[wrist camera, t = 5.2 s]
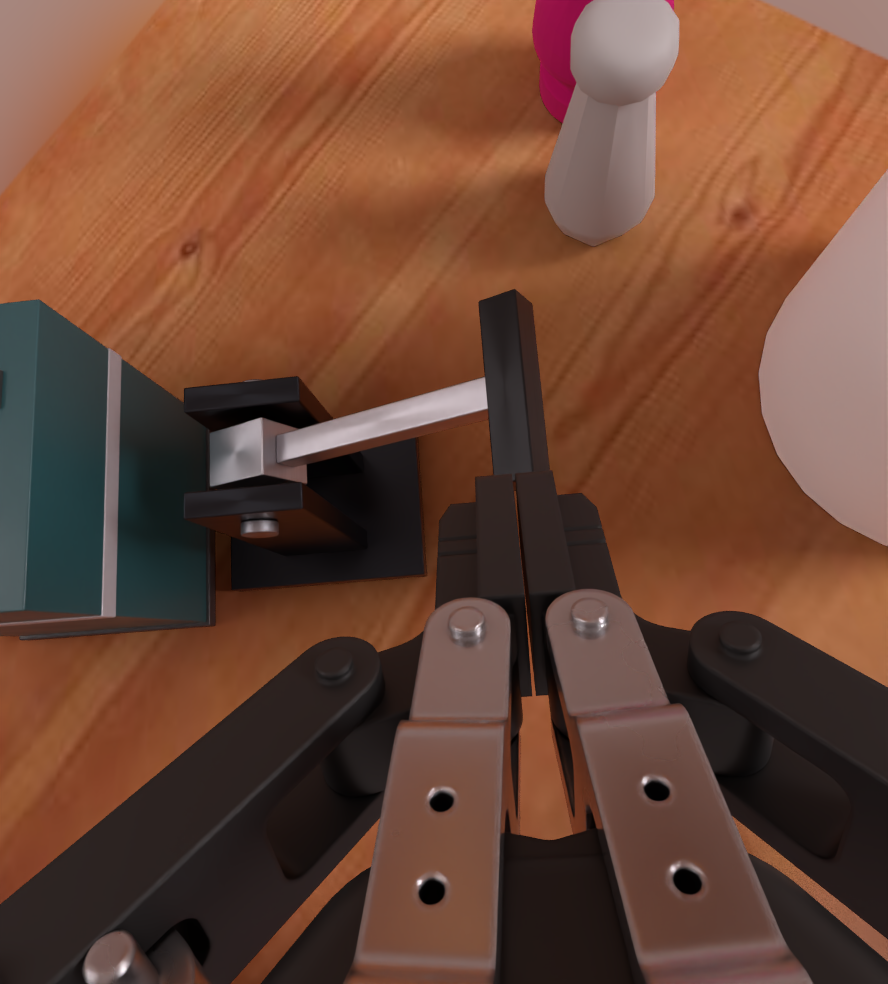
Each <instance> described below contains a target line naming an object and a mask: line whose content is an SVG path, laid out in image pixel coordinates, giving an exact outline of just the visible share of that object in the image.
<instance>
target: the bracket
mask: <svg viewBox="0 0 888 984" xmlns="http://www.w3.org/2000/svg"><path fill="white" fill-rule="evenodd" d="M184 412H185V413H186V414H187V415H188V416H190V417H191V418H193V419H194V420H196V421H197V422H199V423H200V424H202V425H203V426H204V427H206V428H207V429H209V430H210V431H212V432H214V431H217V430H221V429H224V428H227V427H230V426H234V425H237V424H240V423H244V422H247V421H250V420H254V419H257V418H260V417H263V418H266V419H269V420H272V421H276V422H279V423H282V424H285V425H289V426H292V427H295V428H298V429H301V428H304V427H308V426H311V425H315V424H318V423H322V422H325V421H329V420H332V419H333V418H332V417H331V416H330V414H329V413H328V412H327V411H326V410H325V408H324V407H323V406H322V405H321V403H320V402H319V401H318V400H317V399H316V397H315V396H314V395H313V394H312V393H311V391H310V390H309V389H308V388H307V386H306V385H305V384H304V383H303V382H302V380H301V379H300V378H299V377H297V376H296V377H286V378H277V379H267V380H259V379H253V380H246V381H243V382H238V383H229V384H219V385H210V386H200V387H191V388H185V389H184ZM184 519H185V520H188V521H191V522H193V523H196V524H199V525H201V526H204V527H207V528H210V529H212V530H215V531H218V532H220V533H223V534H226V535H229V536H231V582H232V590H235V591H252V590H264V589H277V588H289V587H302V586H314V585H326V584H339V583H351V582H363V581H376V580H388V579H400V578H413V577H425V576H427V565H426V550H425V535H424V520H423V505H422V490H421V475H420V460H419V445H418V437H415V438H411V439H407V440H403V441H399V442H395V443H391V444H387V445H383V446H379V447H375V448H371V449H367V450H363V451H359V452H355V453H351V454H347V455H342V456H338V457H334V458H330V459H326V460H322V461H318V462H314V463H310V464H307V484H306V485H305V484H303V483H302V482H294V483H283V484H272V485H261V486H251V487H240V488H229V489H218V490H208V491H197V492H186V493H184Z"/></svg>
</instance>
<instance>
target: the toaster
mask: <svg viewBox="0 0 888 984" xmlns="http://www.w3.org/2000/svg"><path fill="white" fill-rule="evenodd" d="M211 432H212V431H210V430H209V429H207V428H206V427H204V426H203V425H202V424H200V423H199V422H197V421H196V420H194V419H193V418H191V417H190V416H188V415H187V414H186V413H185V412H184V403H183V402H181V401H180V400H179V399H177V398H176V397H174V396H173V395H172V394H170V393H169V392H168V391H166V390H165V389H163V388H162V387H161V386H159V385H158V384H156V383H155V382H154V381H152V380H151V379H149V378H148V377H147V376H145V375H144V374H142V373H141V372H140V371H138V370H137V369H135V368H134V367H133V366H131V365H130V364H128V363H127V362H126V361H124V360H123V359H121V356H120V355H119V354H117V353H116V352H114V351H113V350H112V349H110V348H106V347H105V346H103V345H102V344H101V343H99V342H98V341H96V340H95V339H94V338H92V337H91V336H89V335H88V334H87V333H85V332H84V331H82V330H81V329H80V328H78V327H77V326H75V325H74V324H73V323H71V322H70V321H68V320H67V319H66V318H64V317H63V316H61V315H60V314H59V313H57V312H56V311H54V310H53V309H52V308H50V307H49V306H48V305H46V304H45V303H43V302H42V301H41V300H30V301H21V302H12V303H4V304H0V636H20V638H19V639H20V640H40V639H53V638H66V637H79V636H92V635H105V634H118V633H131V632H144V631H157V630H169V629H182V628H195V627H208V626H215V530H212V529H210V528H207V527H204V526H201V525H199V524H196V523H193V522H191V521H188V520H185V519H184V493H186V492H197V491H208V490H215V489H214V488H210V433H211Z"/></svg>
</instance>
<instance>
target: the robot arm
mask: <svg viewBox="0 0 888 984" xmlns="http://www.w3.org/2000/svg"><path fill="white" fill-rule="evenodd" d="M515 483H516V496H517V510H518V523H519V537H520V546H519V537H518V527H517V518H516V509H515V499H514V490H513V481H512V474H503V475H492V476H480V477H475V491H476V502H472V503H460V504H450V506H449V507H448V509H447V510H446V512H445V513H444V515H443V516H442V517H441V519H440V520H439V536H438V539H439V542H438V558H437V579H436V601H435V611H434V612H432V614H431V615H430V616H429V618H428V619H427V621H426V624H425V628H424V631H423V632H422V633H421V634H419V635H418V636H417V637H415V638H414V639H412V640H410V641H408V642H406V643H404V644H402V645H399V646H396V647H393V648H390V649H387V650H384V651H381V652H378V653H377V651H376V649H375V648H374V647H373V646H372V645H371V644H370V643H368V642H367V641H364V640H362V639H359V638H355V637H336V638H331V639H327V640H324V641H322V642H320V643H317V644H316V645H314V646H312V647H311V648H309V649H308V650H306V651H305V652H304V653H303V654H302V655H300V656H299V657H298V658H297V659H296V660H294V661H293V662H292V663H291V664H290V665H288V666H287V667H286V668H285V669H283V670H282V671H281V672H280V673H279V674H277V675H276V676H275V677H274V678H273V679H271V680H270V681H269V682H268V683H267V684H265V685H264V686H263V687H262V688H261V689H259V690H258V691H257V692H256V693H255V694H253V695H252V696H251V697H250V698H249V699H247V700H246V701H245V702H244V703H243V704H241V705H240V706H239V707H238V708H236V709H235V710H234V711H233V712H232V713H230V714H229V715H228V716H227V717H226V718H224V719H223V720H222V721H221V722H220V723H218V724H217V725H216V726H215V727H214V728H212V729H211V730H210V731H209V732H208V733H206V734H205V735H204V736H203V737H202V738H200V739H199V740H198V741H197V742H196V743H194V744H193V745H192V746H191V747H189V748H188V749H187V750H186V751H185V752H183V753H182V754H181V755H180V756H179V757H177V758H176V759H175V760H174V761H173V762H171V763H170V764H169V765H168V766H167V767H165V768H164V769H163V770H162V771H161V772H159V773H158V774H157V775H156V776H155V777H153V778H152V779H151V780H150V781H148V782H147V783H146V784H145V785H144V786H142V787H141V788H140V789H139V790H138V791H136V792H135V793H134V794H133V795H132V796H130V797H129V798H128V799H127V800H126V801H124V802H123V803H122V804H121V805H120V806H118V807H117V808H116V809H115V810H114V811H112V812H111V813H110V814H109V815H108V816H106V817H105V818H104V819H103V820H101V821H100V822H99V823H98V824H97V825H95V826H94V827H93V828H92V829H91V830H89V831H88V832H87V833H86V834H85V835H83V836H82V837H81V838H80V839H79V840H77V841H76V842H75V843H74V844H73V845H71V846H70V847H69V848H68V849H67V850H65V851H64V852H63V853H62V854H61V855H59V856H58V857H57V858H56V859H54V860H53V861H52V862H51V863H50V864H48V865H47V866H46V867H45V868H44V869H42V870H41V871H40V872H39V873H38V874H36V875H35V876H34V877H33V878H32V879H30V880H29V881H28V882H27V883H26V884H24V885H23V886H22V887H21V888H20V889H18V890H17V891H16V892H15V893H14V894H12V895H11V896H10V897H9V898H7V899H6V900H5V901H4V902H3V903H1V904H0V984H230V983H231V982H232V981H233V980H234V979H235V978H236V977H237V976H238V974H239V973H240V972H241V971H242V970H243V969H244V968H245V967H246V966H247V964H248V963H249V962H250V961H251V960H252V959H253V958H254V957H255V956H256V954H257V953H258V952H259V951H260V950H261V949H262V948H263V947H264V946H265V945H266V943H267V942H268V941H269V940H270V939H271V938H272V937H273V936H274V935H275V933H276V932H277V931H278V930H279V929H280V928H281V927H282V926H283V925H284V923H285V922H286V921H287V920H288V919H289V918H290V917H291V916H292V915H293V913H294V912H295V911H296V910H297V909H298V908H299V907H300V906H301V905H302V903H303V902H304V901H305V900H306V899H307V898H308V897H309V896H310V895H311V893H312V892H313V891H314V890H315V889H316V888H317V887H318V886H319V885H320V883H321V882H322V881H323V880H324V879H325V878H326V877H327V876H328V875H329V874H330V872H331V871H332V870H333V869H334V868H335V867H336V866H337V865H338V864H339V862H340V861H341V860H342V859H343V858H344V857H345V856H346V855H347V854H348V852H349V851H350V850H351V849H352V848H353V847H354V846H355V845H356V844H357V842H358V841H359V840H360V839H361V838H362V837H363V836H364V835H365V834H366V832H367V831H368V830H369V829H370V828H371V827H372V826H373V825H374V824H375V822H376V821H377V820H378V819H379V818H380V821H379V827H378V832H377V838H376V843H375V849H374V854H373V860H372V865H371V867H370V868H368V869H366V870H365V871H363V872H361V873H360V874H359V875H358V876H356V877H355V878H354V879H352V880H351V881H350V882H348V883H347V884H346V885H345V886H344V887H343V888H342V889H341V890H340V891H339V892H338V893H336V894H335V895H334V896H333V897H332V898H331V899H330V901H329V902H328V903H327V904H326V905H325V906H324V907H323V909H322V910H321V911H320V912H319V913H318V915H317V916H316V917H315V918H314V920H313V921H312V922H311V923H310V924H309V926H308V927H307V928H306V929H305V931H304V932H303V933H302V934H301V935H300V937H299V938H298V939H297V940H296V941H295V943H294V944H293V945H292V946H291V948H290V949H289V950H288V951H287V952H286V954H285V955H284V956H283V957H282V958H281V960H280V961H279V962H278V963H277V965H276V966H275V967H274V968H273V969H272V971H271V972H270V973H269V974H268V975H267V977H266V978H265V979H264V980H263V981H262V983H261V984H888V961H886V960H885V959H884V958H883V957H882V956H881V955H879V954H878V953H877V952H876V951H875V950H874V949H872V948H871V947H870V946H869V945H868V944H867V943H865V942H864V941H863V940H862V939H861V938H859V937H858V936H857V935H856V934H855V933H854V932H852V931H851V930H850V929H849V928H848V927H847V926H845V925H844V924H843V923H842V922H841V921H840V920H838V919H837V918H836V917H835V916H834V915H833V914H831V913H830V912H829V911H828V910H827V909H826V908H824V907H823V906H822V905H821V904H820V903H819V902H817V901H816V900H815V899H814V898H813V897H812V896H810V895H809V894H808V893H807V892H806V891H805V890H803V889H802V888H801V887H800V886H799V885H797V884H796V883H795V882H794V881H792V880H791V879H790V878H789V877H787V876H786V875H784V874H783V873H781V872H780V871H778V870H777V869H776V868H774V867H773V866H771V865H769V864H768V863H766V862H764V861H762V860H760V859H759V858H757V857H755V856H753V855H751V854H749V853H747V851H746V849H745V846H744V844H743V841H742V839H741V837H740V834H739V832H738V830H737V827H736V825H735V822H734V820H733V818H732V816H733V817H734V818H736V819H737V820H738V821H739V822H741V823H742V824H743V825H745V826H746V827H747V828H748V829H750V830H751V831H752V832H753V833H755V834H756V835H757V836H758V837H760V838H761V839H762V840H763V841H765V842H766V843H767V844H768V845H770V846H771V847H772V848H774V849H775V850H776V851H777V852H779V853H780V854H781V855H782V856H784V857H785V858H786V859H787V860H789V861H790V862H791V863H792V864H794V865H795V866H796V867H797V868H799V869H800V870H801V871H802V872H804V873H805V874H806V875H808V876H809V877H810V878H811V879H813V880H814V881H815V882H816V883H818V884H819V885H820V886H821V887H823V888H824V889H825V890H826V891H828V892H829V893H830V894H831V895H833V896H834V897H835V898H837V899H838V900H839V901H840V902H842V903H843V904H844V905H845V906H847V907H848V908H849V909H850V910H852V911H853V912H854V913H855V914H857V915H858V916H859V917H860V918H862V919H863V920H864V921H865V922H867V923H868V924H869V925H871V926H872V927H873V928H874V929H876V930H877V931H878V932H879V933H881V934H882V935H883V936H884V937H886V938H887V939H888V687H886V686H884V685H882V684H880V683H879V682H877V681H875V680H873V679H871V678H870V677H868V676H866V675H864V674H862V673H861V672H859V671H857V670H855V669H853V668H852V667H850V666H848V665H846V664H844V663H843V662H841V661H839V660H837V659H835V658H834V657H832V656H830V655H828V654H826V653H825V652H823V651H821V650H819V649H817V648H816V647H814V646H812V645H810V644H808V643H807V642H805V641H803V640H801V639H799V638H798V637H796V636H794V635H792V634H790V633H789V632H787V631H785V630H783V629H781V628H780V627H778V626H776V625H774V624H772V623H770V622H769V621H767V620H765V619H763V618H761V617H758V616H755V615H752V614H749V613H744V612H737V611H722V612H716V613H712V614H709V615H707V616H704V617H703V618H701V619H700V620H698V621H697V622H696V623H695V624H694V626H693V627H692V629H691V631H688V630H682V629H676V628H670V627H665V626H660V625H657V624H654V623H651V622H649V621H646V620H644V619H642V618H641V617H639V616H637V615H636V614H635V613H633V611H632V609H631V607H630V606H629V605H628V604H627V603H626V602H625V601H624V600H623V599H622V597H621V595H620V591H619V587H618V584H617V580H616V576H615V573H614V569H613V565H612V562H611V558H610V554H609V551H608V547H607V543H606V541H605V536H604V532H603V529H602V525H601V521H600V518H599V514H598V510H597V507H596V506H595V505H594V504H593V503H591V502H590V501H589V500H588V499H587V498H586V497H585V496H584V495H583V494H582V493H577V494H565V495H557V492H556V487H555V482H554V477H553V472H552V470H547V471H536V472H525V473H515ZM520 549H521V555H520ZM521 560H522V565H521ZM522 570H523V574H522ZM523 579H524V583H523ZM524 589H525V593H524ZM525 598H526V606H525ZM526 607H527V616H528V626H529V635H530V644H531V654H532V663H533V672H534V681H535V691H536V696H539V695H548V696H549V704H550V712H551V730H552V738H553V743H554V748H555V752H556V757H557V762H558V766H559V771H560V775H561V780H562V785H563V789H564V794H565V799H566V803H567V808H568V813H569V817H570V822H571V826H572V831H573V835H570V836H567V837H563V838H560V839H556V840H542V839H537V838H532V837H527V836H522V835H520V760H521V736H520V728H521V725H522V721H523V713H522V702H521V697H527V696H532V687H531V674H530V660H529V646H528V633H527V619H526Z"/></svg>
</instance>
